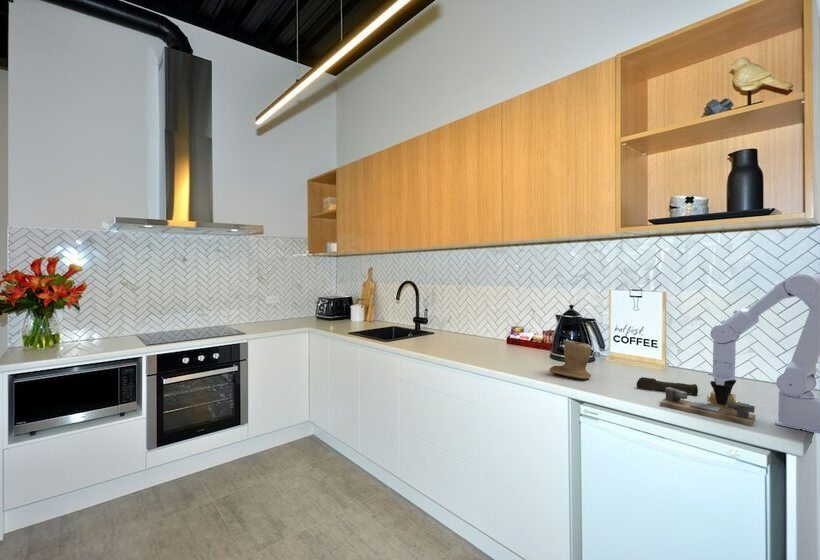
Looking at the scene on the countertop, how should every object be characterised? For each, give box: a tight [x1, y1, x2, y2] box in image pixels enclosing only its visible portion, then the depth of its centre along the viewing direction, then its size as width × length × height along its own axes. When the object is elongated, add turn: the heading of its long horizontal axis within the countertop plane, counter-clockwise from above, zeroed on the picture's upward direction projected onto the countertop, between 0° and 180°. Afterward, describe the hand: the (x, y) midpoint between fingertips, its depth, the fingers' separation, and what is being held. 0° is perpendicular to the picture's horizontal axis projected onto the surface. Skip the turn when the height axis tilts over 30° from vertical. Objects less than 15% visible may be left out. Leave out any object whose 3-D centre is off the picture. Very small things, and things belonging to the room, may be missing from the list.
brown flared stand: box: [548, 340, 592, 380], centre depth 163 cm, size 15×12×15 cm
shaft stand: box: [659, 387, 756, 427], centre depth 123 cm, size 23×8×5 cm, turn 44°
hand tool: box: [636, 376, 699, 397], centre depth 144 cm, size 19×4×5 cm, turn 63°
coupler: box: [706, 389, 740, 411], centre depth 127 cm, size 8×4×4 cm, turn 44°
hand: (722, 402), depth 127 cm, fingers open, 5 cm apart
